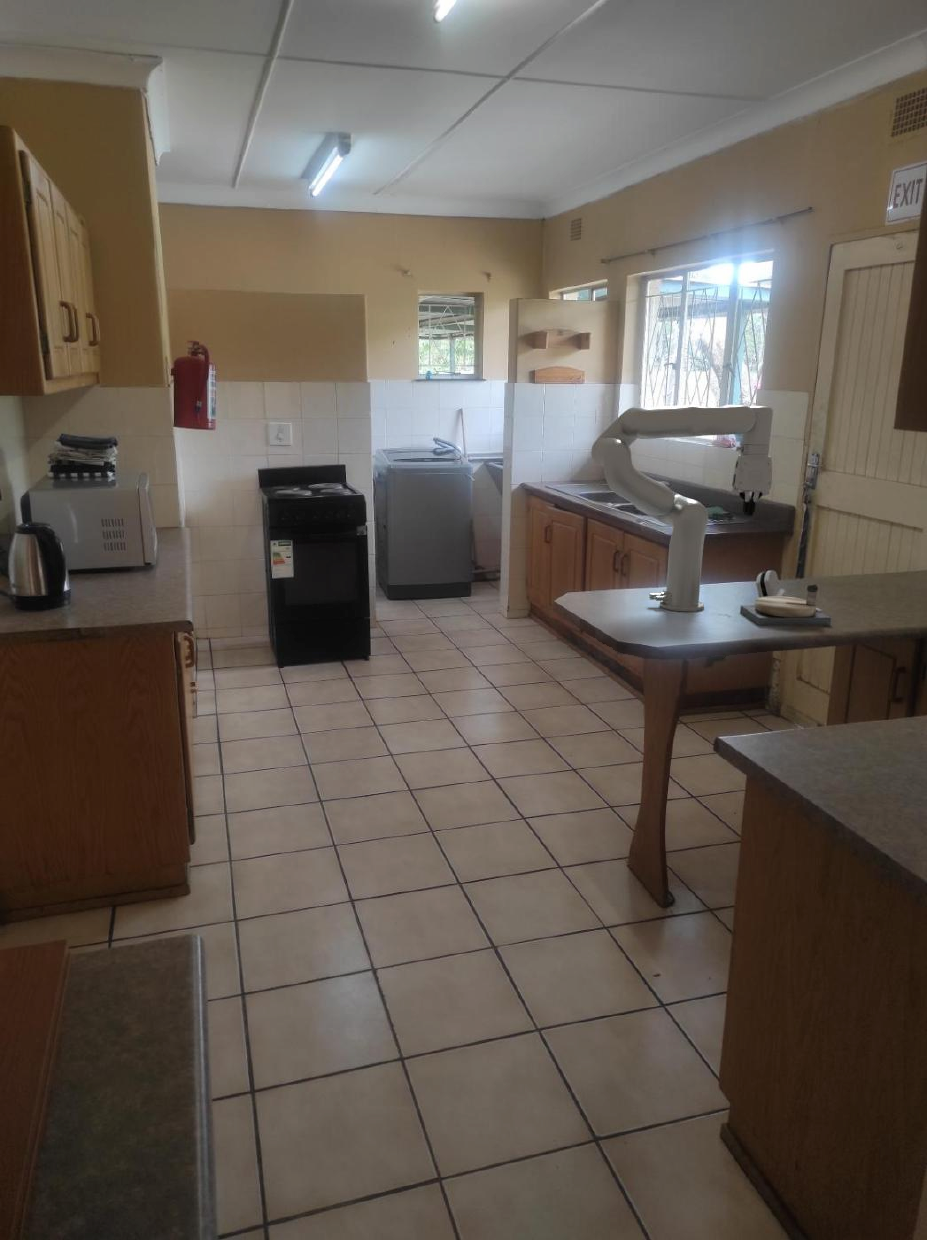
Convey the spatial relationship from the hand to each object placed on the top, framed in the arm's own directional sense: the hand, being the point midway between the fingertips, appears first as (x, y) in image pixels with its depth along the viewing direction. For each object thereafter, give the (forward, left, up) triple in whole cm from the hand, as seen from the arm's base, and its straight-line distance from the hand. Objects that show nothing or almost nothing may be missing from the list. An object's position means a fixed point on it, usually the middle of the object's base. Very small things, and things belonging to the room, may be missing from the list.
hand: (748, 514), depth 252 cm
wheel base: (+7, -16, -27) cm, 32 cm away
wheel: (+7, -16, -24) cm, 30 cm away
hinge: (+12, +6, -27) cm, 30 cm away
